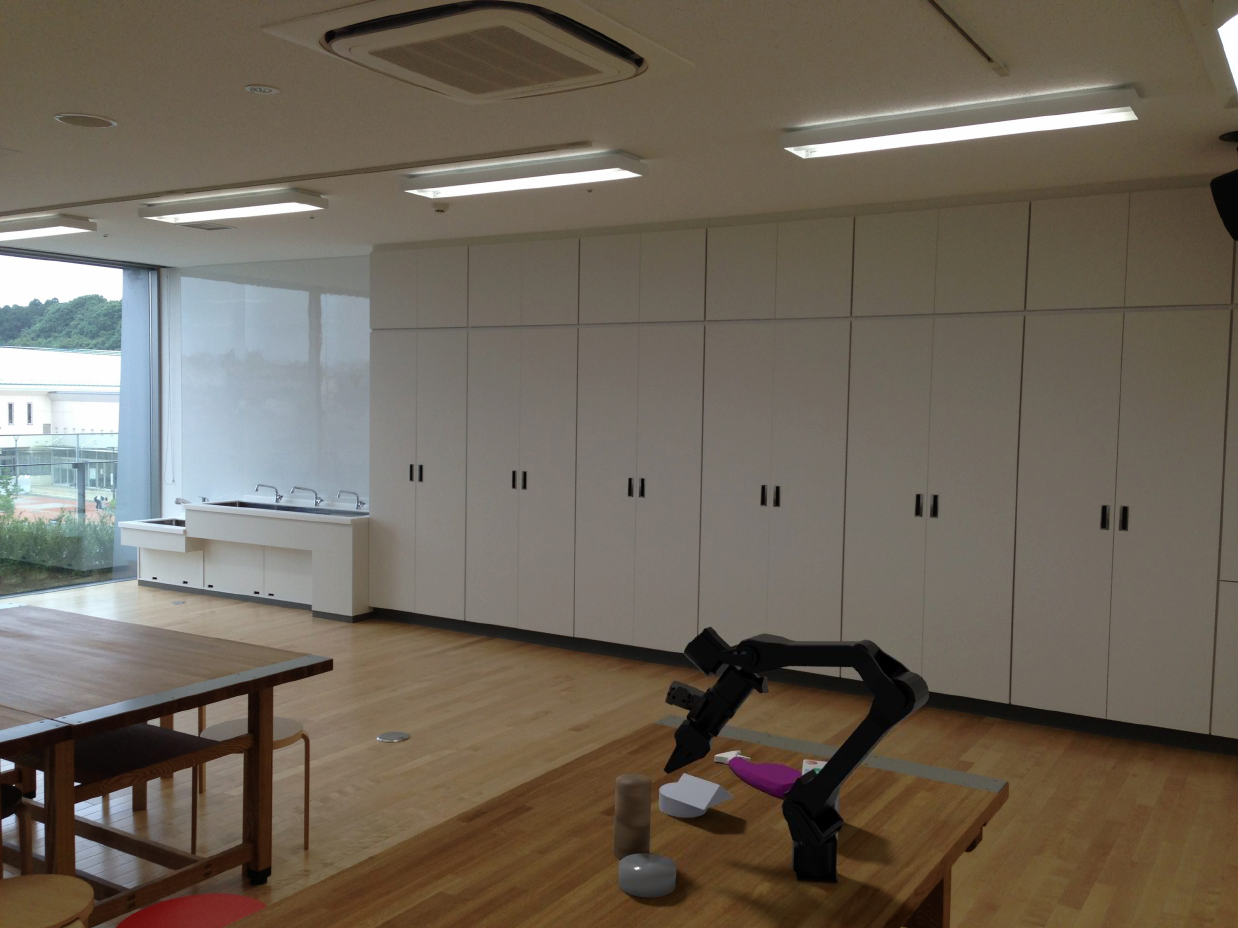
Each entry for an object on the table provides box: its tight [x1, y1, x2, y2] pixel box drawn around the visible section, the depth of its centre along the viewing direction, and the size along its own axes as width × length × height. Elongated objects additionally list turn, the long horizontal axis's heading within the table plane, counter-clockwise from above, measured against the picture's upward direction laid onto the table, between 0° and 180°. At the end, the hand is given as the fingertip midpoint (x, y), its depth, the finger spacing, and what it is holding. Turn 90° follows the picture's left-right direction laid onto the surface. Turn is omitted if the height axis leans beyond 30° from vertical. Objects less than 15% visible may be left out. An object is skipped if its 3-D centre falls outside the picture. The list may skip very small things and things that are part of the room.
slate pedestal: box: [617, 852, 677, 899], centre depth 161 cm, size 9×9×3 cm
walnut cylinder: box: [613, 773, 652, 860], centre depth 172 cm, size 6×6×12 cm
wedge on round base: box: [658, 773, 735, 819], centre depth 191 cm, size 9×7×13 cm
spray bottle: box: [713, 750, 802, 799], centre depth 212 cm, size 3×11×24 cm
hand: (670, 764), depth 176 cm, fingers open, 9 cm apart
